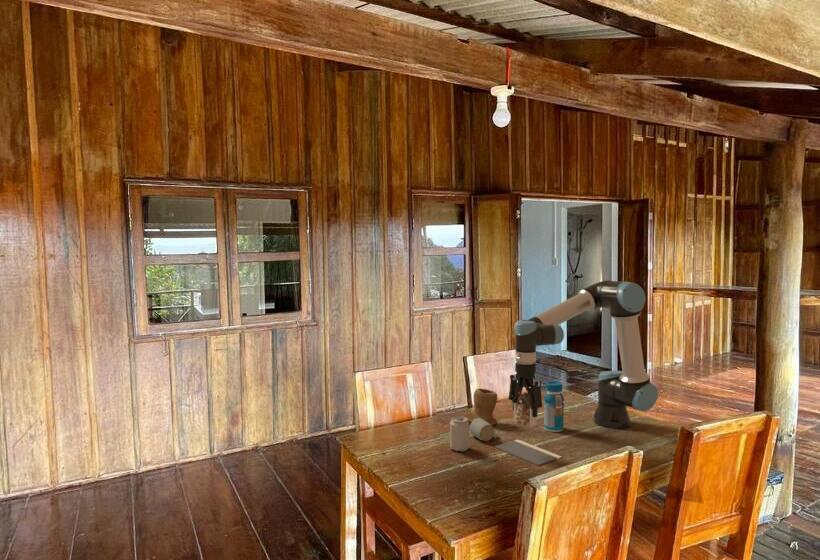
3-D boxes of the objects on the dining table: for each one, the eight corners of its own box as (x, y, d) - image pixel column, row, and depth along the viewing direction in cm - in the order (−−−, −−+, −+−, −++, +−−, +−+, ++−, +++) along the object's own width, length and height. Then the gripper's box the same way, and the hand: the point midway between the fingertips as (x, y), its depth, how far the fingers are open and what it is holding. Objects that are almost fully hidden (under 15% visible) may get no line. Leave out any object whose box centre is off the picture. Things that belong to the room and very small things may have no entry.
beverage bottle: (542, 431, 227) (542, 384, 226) (544, 424, 235) (545, 380, 234) (562, 433, 224) (563, 386, 223) (564, 427, 232) (565, 381, 231)
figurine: (530, 428, 198) (531, 396, 197) (512, 424, 201) (512, 393, 201) (537, 422, 204) (537, 391, 203) (519, 419, 208) (519, 388, 207)
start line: (517, 440, 217) (517, 439, 217) (561, 457, 199) (561, 456, 199) (514, 441, 216) (514, 440, 216) (558, 458, 198) (558, 457, 198)
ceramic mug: (480, 443, 213) (480, 424, 213) (469, 437, 221) (469, 418, 220) (502, 439, 218) (502, 421, 218) (490, 433, 226) (490, 415, 225)
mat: (512, 441, 215) (512, 440, 215) (556, 459, 197) (556, 458, 197) (494, 447, 209) (494, 446, 209) (538, 465, 192) (538, 464, 192)
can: (471, 446, 210) (471, 416, 210) (466, 453, 203) (467, 422, 203) (452, 444, 213) (452, 414, 212) (447, 451, 206) (447, 420, 205)
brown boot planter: (502, 422, 239) (502, 389, 238) (488, 429, 230) (488, 395, 229) (474, 415, 248) (474, 383, 247) (459, 422, 239) (459, 389, 238)
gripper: (499, 359, 207) (498, 417, 209) (539, 368, 191) (538, 431, 192) (512, 356, 211) (512, 413, 213) (553, 365, 195) (552, 427, 197)
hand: (524, 422), depth 203 cm, fingers closed on figurine, 7 cm apart
